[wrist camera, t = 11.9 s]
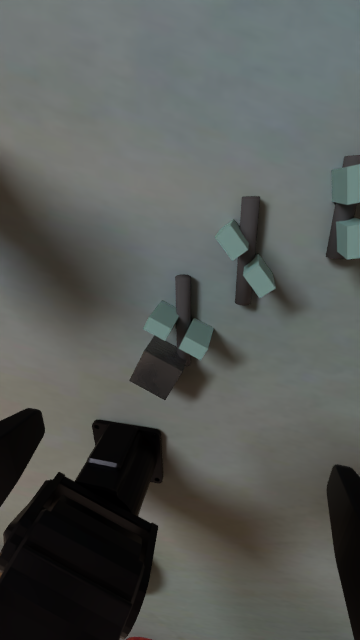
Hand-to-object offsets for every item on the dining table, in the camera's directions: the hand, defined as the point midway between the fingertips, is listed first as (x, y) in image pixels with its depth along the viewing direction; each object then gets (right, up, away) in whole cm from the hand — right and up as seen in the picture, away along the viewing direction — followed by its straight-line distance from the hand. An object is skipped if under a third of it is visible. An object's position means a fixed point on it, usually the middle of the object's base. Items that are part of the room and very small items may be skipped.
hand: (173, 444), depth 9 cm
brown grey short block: (-1, +1, +14) cm, 14 cm away
